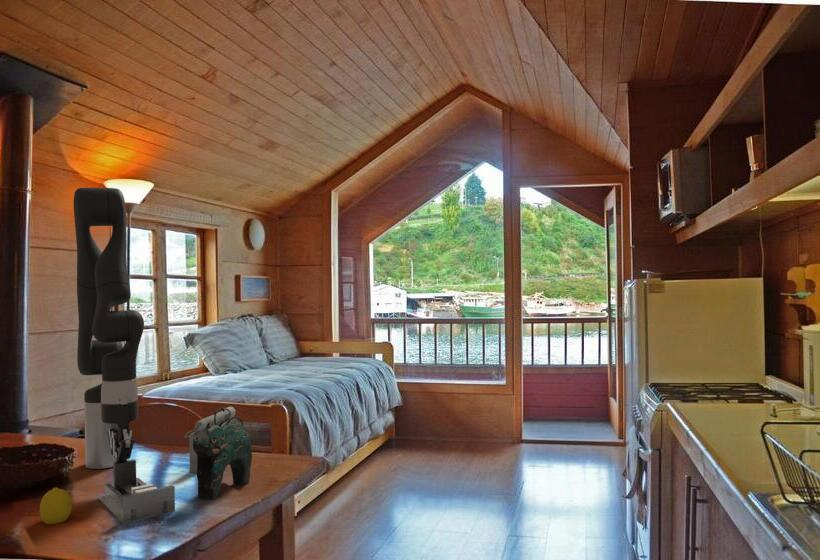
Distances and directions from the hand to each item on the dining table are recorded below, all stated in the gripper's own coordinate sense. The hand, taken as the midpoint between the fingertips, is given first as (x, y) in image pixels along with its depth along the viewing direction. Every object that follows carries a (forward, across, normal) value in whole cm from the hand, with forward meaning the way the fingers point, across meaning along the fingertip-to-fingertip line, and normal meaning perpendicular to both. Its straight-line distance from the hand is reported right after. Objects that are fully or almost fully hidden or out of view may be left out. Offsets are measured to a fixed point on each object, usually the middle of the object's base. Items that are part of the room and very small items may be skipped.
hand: (121, 476), depth 143 cm
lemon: (+5, +10, -15) cm, 18 cm away
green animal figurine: (+5, +13, +19) cm, 23 cm away
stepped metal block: (+3, +7, 0) cm, 8 cm away
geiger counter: (+5, -11, +27) cm, 30 cm away
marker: (+3, +18, 0) cm, 18 cm away
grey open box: (+5, +11, 0) cm, 12 cm away
